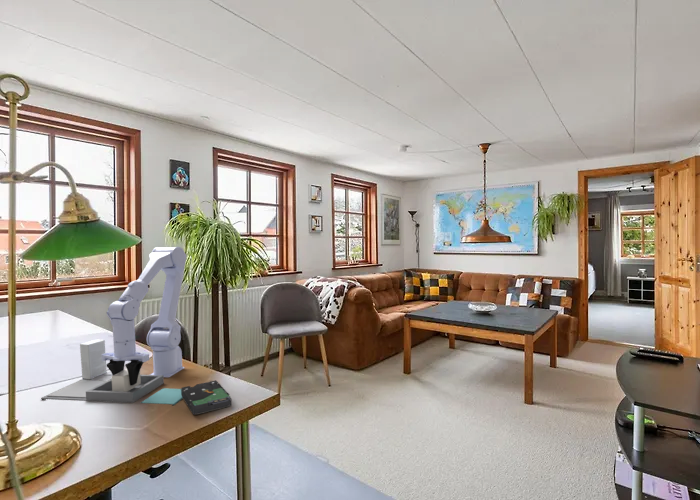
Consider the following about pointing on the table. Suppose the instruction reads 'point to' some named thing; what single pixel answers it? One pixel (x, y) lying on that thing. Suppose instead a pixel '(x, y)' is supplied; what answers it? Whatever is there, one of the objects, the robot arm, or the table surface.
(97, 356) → the skincare box
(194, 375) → the table surface
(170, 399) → the teal pad
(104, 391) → the case
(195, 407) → the disk drive
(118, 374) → the block
